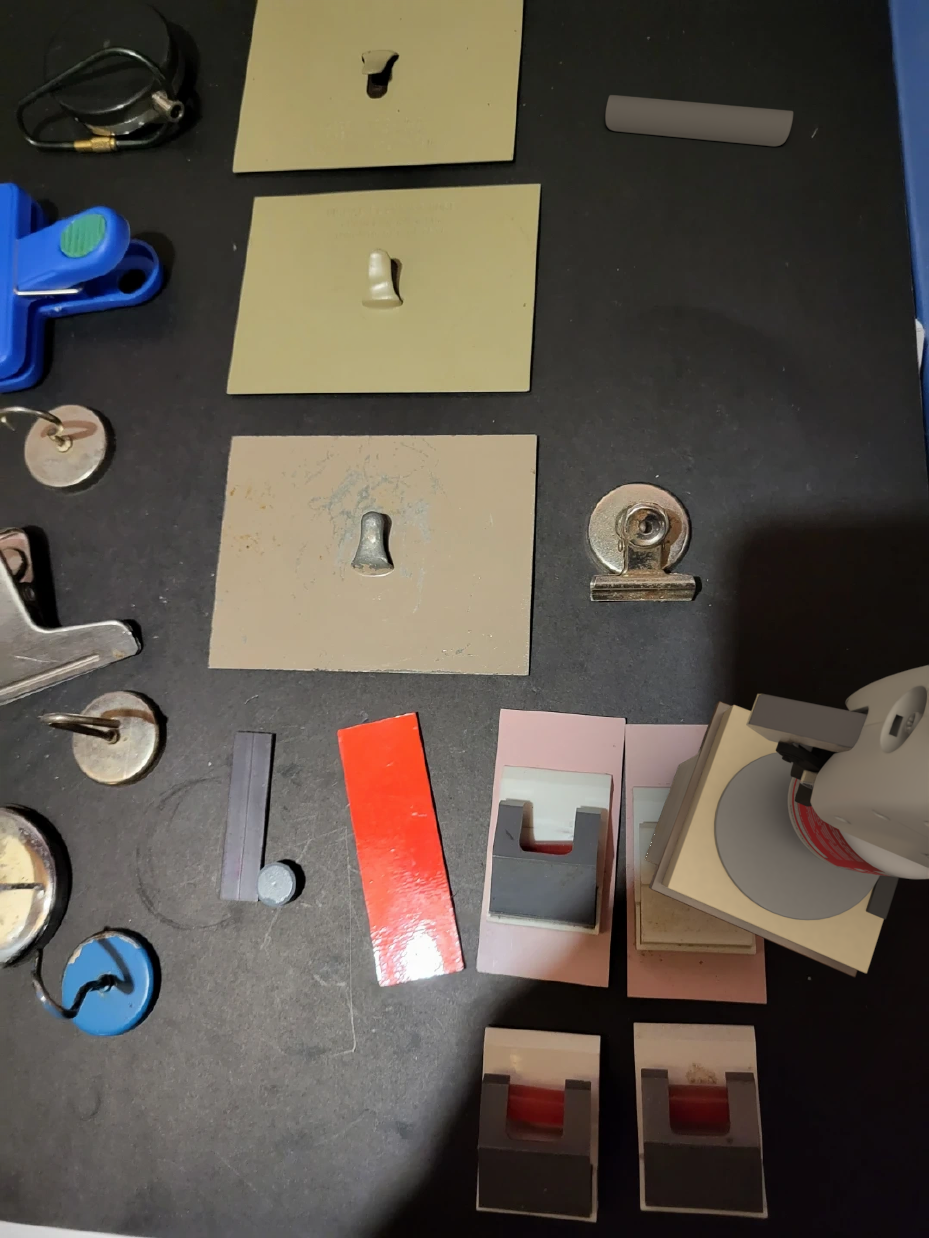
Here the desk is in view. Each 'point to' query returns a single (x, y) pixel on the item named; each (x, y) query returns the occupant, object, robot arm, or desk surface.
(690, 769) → the stand
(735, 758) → the scale
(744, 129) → the gray half cylinder
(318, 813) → the desk surface
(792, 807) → the pill bottle
